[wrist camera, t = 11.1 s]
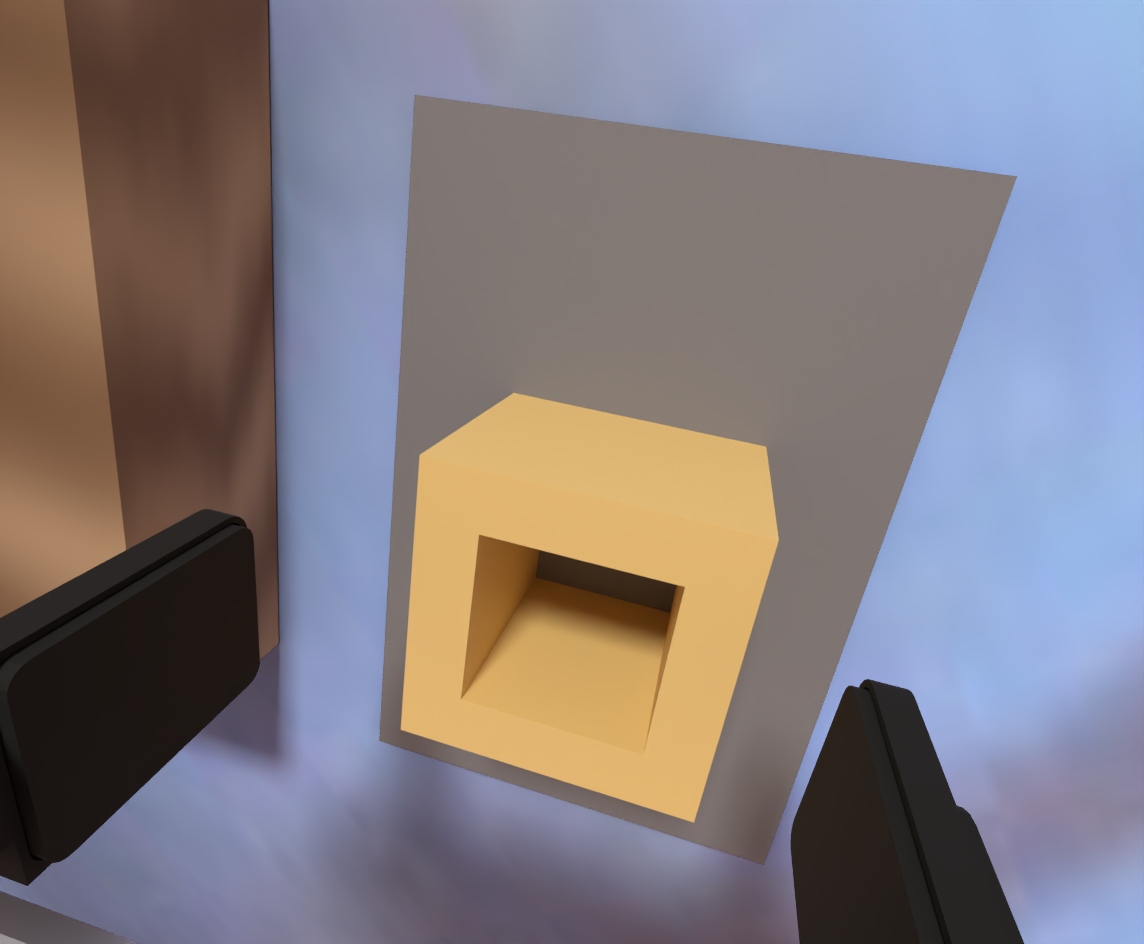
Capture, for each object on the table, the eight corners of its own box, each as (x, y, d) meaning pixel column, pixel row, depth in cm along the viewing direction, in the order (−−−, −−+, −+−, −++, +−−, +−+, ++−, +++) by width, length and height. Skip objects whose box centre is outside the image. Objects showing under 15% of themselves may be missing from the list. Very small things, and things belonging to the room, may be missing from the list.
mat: (427, 100, 14) (414, 95, 14) (1004, 179, 12) (1016, 176, 12) (389, 727, 21) (379, 740, 20) (763, 846, 19) (763, 864, 18)
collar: (513, 392, 16) (419, 454, 11) (766, 446, 15) (778, 540, 10) (488, 603, 18) (401, 729, 13) (706, 663, 17) (693, 822, 12)
